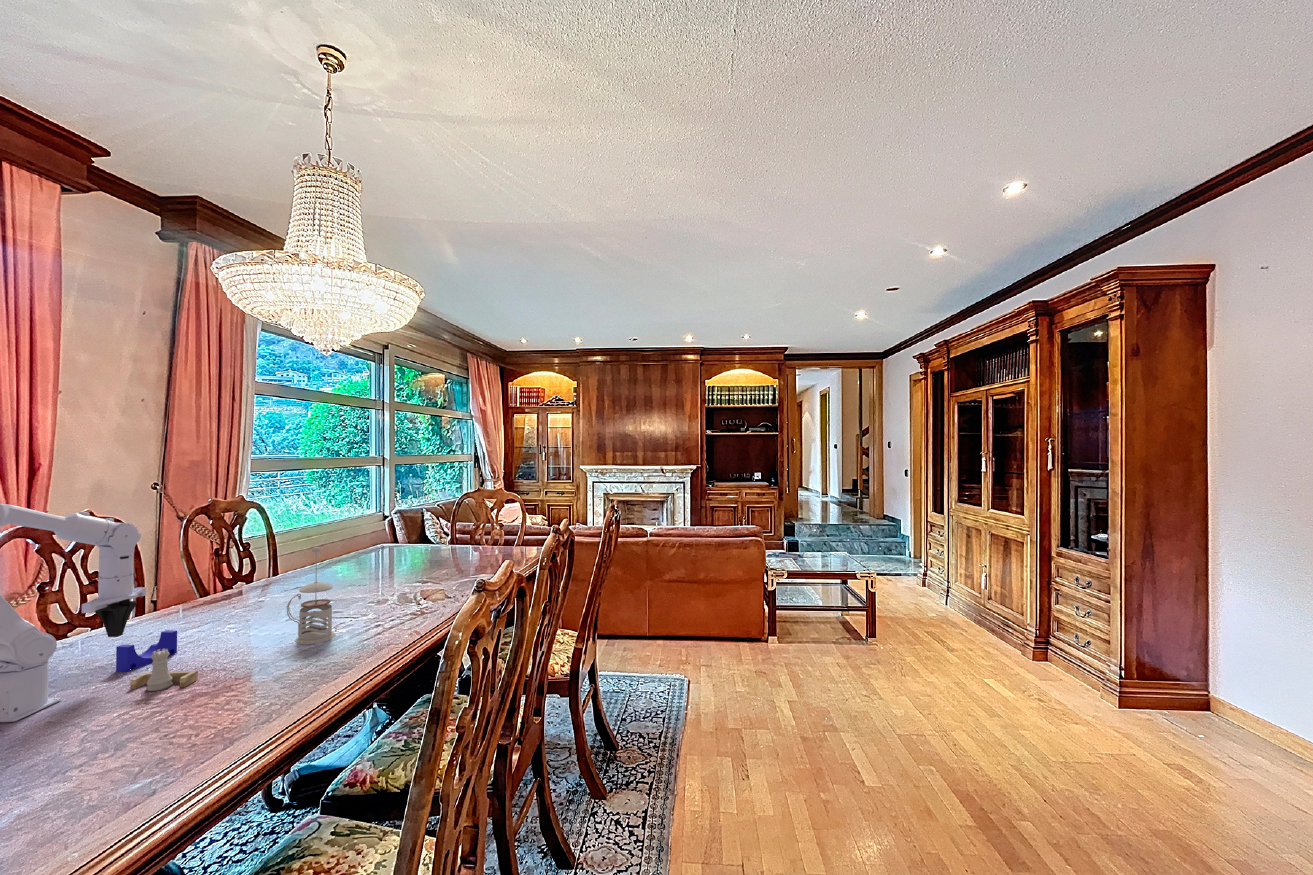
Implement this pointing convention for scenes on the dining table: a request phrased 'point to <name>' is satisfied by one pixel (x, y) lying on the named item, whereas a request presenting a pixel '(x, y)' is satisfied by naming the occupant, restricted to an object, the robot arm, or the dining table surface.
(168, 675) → the rook chess piece
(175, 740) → the dining table surface
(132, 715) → the dining table surface
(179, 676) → the wooden bracket
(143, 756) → the dining table surface
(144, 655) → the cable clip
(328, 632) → the french press
